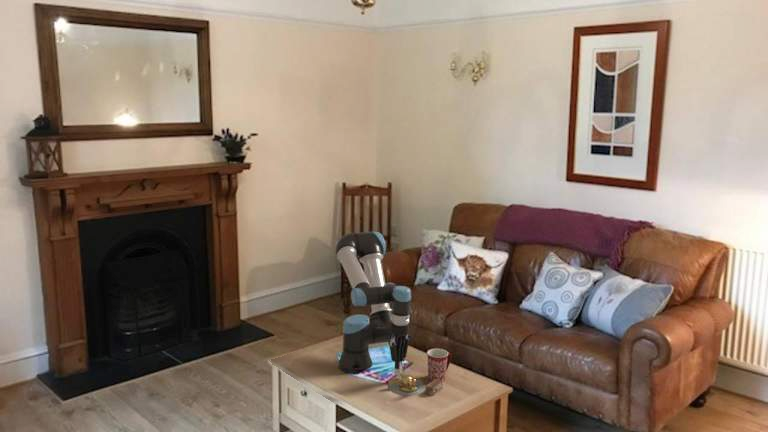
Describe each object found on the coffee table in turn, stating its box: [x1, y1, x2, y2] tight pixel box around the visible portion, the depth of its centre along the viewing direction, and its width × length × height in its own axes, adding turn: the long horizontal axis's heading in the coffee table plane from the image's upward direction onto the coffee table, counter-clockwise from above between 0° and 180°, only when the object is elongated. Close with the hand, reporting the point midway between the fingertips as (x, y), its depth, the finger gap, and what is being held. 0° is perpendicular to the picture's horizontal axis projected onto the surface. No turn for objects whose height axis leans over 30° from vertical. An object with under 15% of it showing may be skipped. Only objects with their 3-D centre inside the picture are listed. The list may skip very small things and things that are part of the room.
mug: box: [426, 348, 452, 383], centre depth 277 cm, size 13×9×14 cm
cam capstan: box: [388, 369, 426, 393], centre depth 268 cm, size 16×16×7 cm
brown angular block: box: [425, 379, 443, 397], centre depth 265 cm, size 4×8×5 cm, turn 142°
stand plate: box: [387, 381, 426, 397], centre depth 269 cm, size 16×16×2 cm
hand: (397, 375), depth 273 cm, fingers closed
